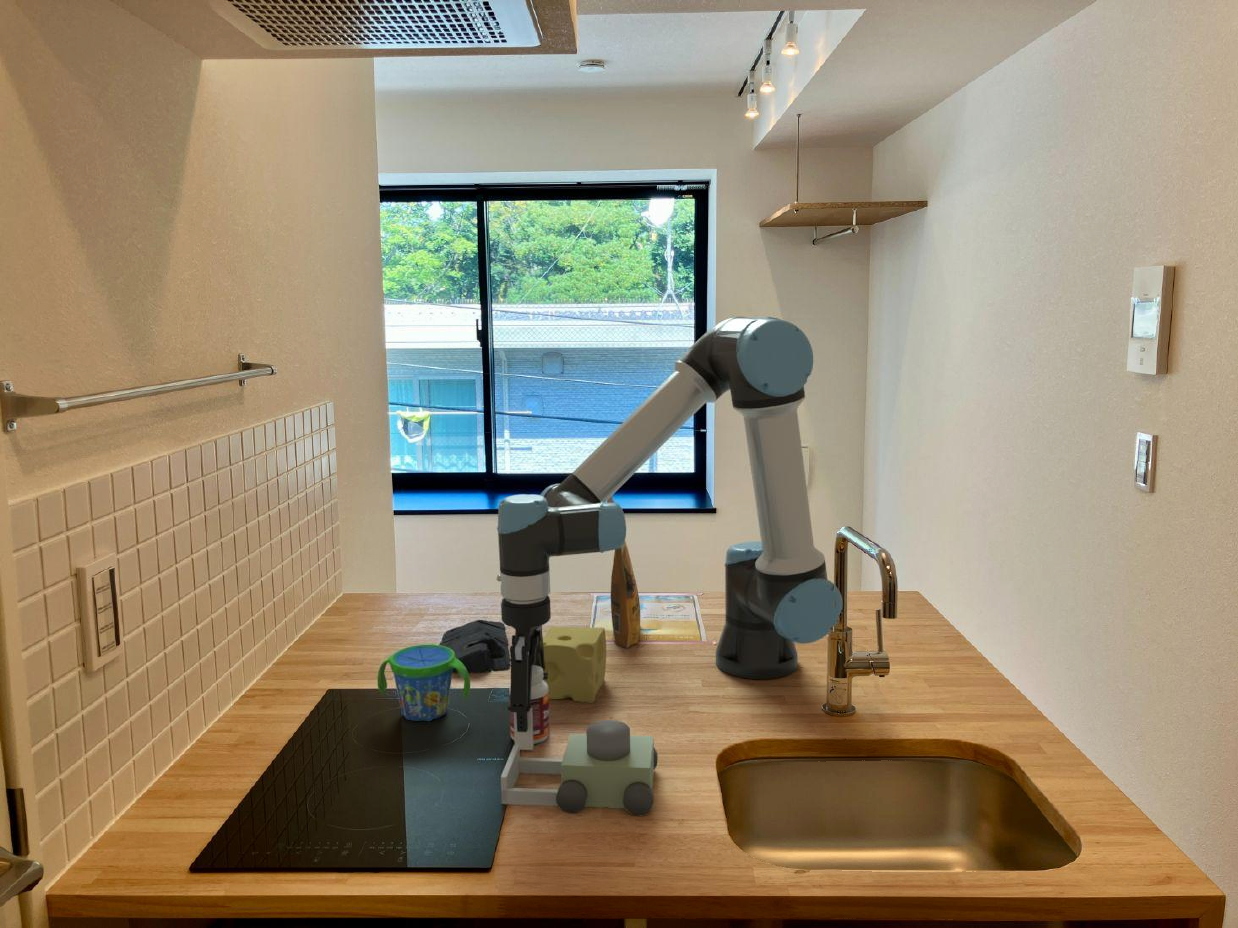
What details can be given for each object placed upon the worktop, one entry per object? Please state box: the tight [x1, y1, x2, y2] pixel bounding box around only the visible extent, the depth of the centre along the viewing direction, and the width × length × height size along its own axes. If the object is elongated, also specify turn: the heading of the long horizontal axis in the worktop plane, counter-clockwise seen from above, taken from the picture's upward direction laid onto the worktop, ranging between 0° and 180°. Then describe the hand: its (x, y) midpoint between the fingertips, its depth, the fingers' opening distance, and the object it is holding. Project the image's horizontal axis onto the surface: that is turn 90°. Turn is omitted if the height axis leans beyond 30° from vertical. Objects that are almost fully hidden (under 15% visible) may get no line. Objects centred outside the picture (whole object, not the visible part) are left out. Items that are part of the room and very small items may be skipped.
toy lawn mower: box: [500, 719, 659, 817], centre depth 128 cm, size 21×12×9 cm, turn 85°
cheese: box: [543, 625, 607, 704], centre depth 160 cm, size 10×11×10 cm
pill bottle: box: [508, 665, 551, 745], centre depth 143 cm, size 6×6×11 cm
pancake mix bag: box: [606, 495, 641, 649], centre depth 185 cm, size 7×19×28 cm, turn 178°
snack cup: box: [376, 644, 471, 722], centre depth 152 cm, size 16×10×10 cm
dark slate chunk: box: [438, 619, 511, 675], centre depth 179 cm, size 15×22×5 cm
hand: (530, 733), depth 144 cm, fingers open, 9 cm apart
